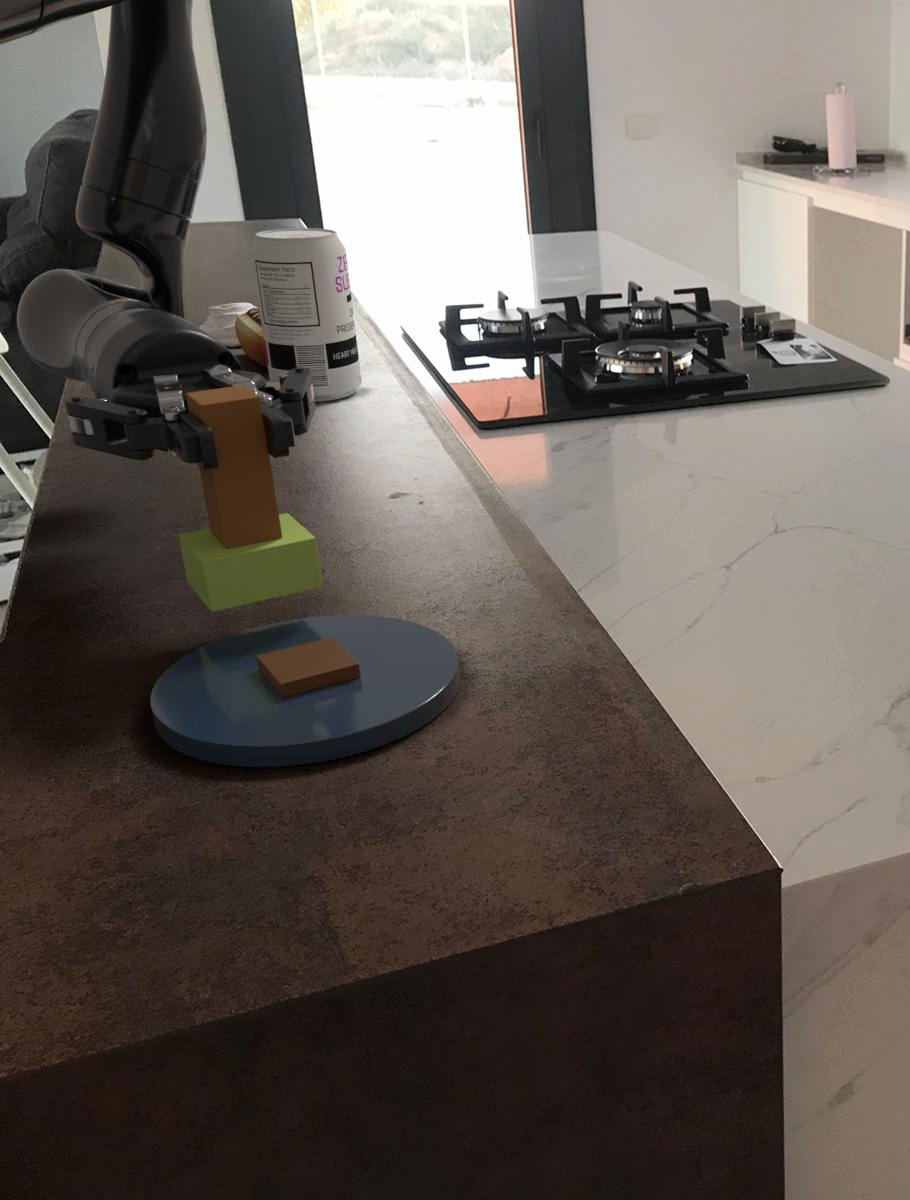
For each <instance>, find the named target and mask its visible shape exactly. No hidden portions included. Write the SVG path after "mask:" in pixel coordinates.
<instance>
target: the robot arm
mask: <svg viewBox="0 0 910 1200" xmlns="http://www.w3.org/2000/svg"><path fill="white" fill-rule="evenodd" d="M193 5H194V0H0V45H3V44H7V43H9V42H13V41H17V40H19V39H21V38H24V37H27V36H30V35H33V34H35V33H39V32H41V31H44V30H46V29H48V28H50V27H53V26H56V25H59V24H62V23H65V22H66V21H67V22H68V21H70V20H72V19H77V18H78V17H81V16H82V17H83V16H85V15H88V14H91V13H95V12H97V11H101V10H103V9H106V8H109V7H110V19H109V20H110V22H109V35H108V48H107V58H106V66H105V67H106V68H105V76H104V82H103V89H102V94H101V98H100V99H101V100H100V104H99V109H98V114H97V118H96V122H95V127H94V131H93V134H92V137H91V138H92V139H91V143H90V146H89V150H88V155H87V159H86V164H85V168H84V172H83V176H82V180H81V183H82V184H81V185H80V188H79V192H78V196H77V200H76V206H75V220H76V223H77V225H78V227H79V229H81V230H82V231H83V232H84V233H85V234H87V235H89V236H90V237H92V238H93V239H96V240H97V241H100V242H101V243H103V244H104V245H107V246H109V247H112V248H113V249H115V250H117V251H119V252H121V253H123V254H124V255H126V256H127V257H129V258H130V259H131V260H132V261H134V263H135V265H136V267H137V269H138V271H139V276H140V288H137V287H134V286H131V285H128V284H123V283H120V282H117V281H115V280H114V281H113V280H110V279H106V278H104V277H103V278H102V277H99V276H96V275H93V274H89V273H85V272H82V271H79V270H74V269H68V268H56V269H51V270H47V271H45V272H42V273H41V274H39V275H38V276H36V277H35V278H34V279H32V281H31V282H30V283H29V284H28V285H27V286H26V288H25V289H24V292H23V293H22V294H21V297H20V299H19V303H18V306H17V310H16V311H17V313H16V326H17V332H18V336H19V340H20V342H21V345H22V347H23V349H24V350H25V352H26V354H27V356H29V358H30V359H31V360H32V361H33V362H34V363H35V364H36V365H37V366H39V367H40V368H42V369H43V370H45V371H47V372H49V373H51V374H54V375H56V376H59V377H61V378H63V379H66V380H69V381H71V382H74V383H77V384H79V385H83V386H85V387H87V388H90V389H91V390H92V392H93V394H94V397H95V398H91V397H87V396H85V397H84V396H81V395H76V396H75V395H74V396H72V397H71V398H67V399H65V400H64V405H65V409H66V414H67V418H68V423H69V427H70V431H71V436H72V437H71V438H72V441H73V445H74V446H77V447H81V448H86V449H89V450H94V451H97V452H102V453H105V454H109V455H113V456H114V455H115V456H118V457H122V458H127V459H131V460H137V461H147V460H149V459H152V458H154V457H156V453H155V450H158V451H161V452H164V453H165V452H166V453H168V455H169V456H170V457H172V458H178V459H180V460H181V461H182V462H183V463H187V464H191V465H192V464H195V465H196V466H198V468H199V467H200V468H201V469H202V470H207V469H213V468H218V460H217V454H216V449H215V443H214V437H213V433H212V430H211V428H210V427H209V426H208V425H207V424H206V423H205V422H202V421H201V420H200V419H199V418H198V417H196V416H195V415H194V414H193V413H189V410H188V404H187V399H186V393H190V392H197V391H204V390H212V389H219V388H226V387H234V386H241V385H244V386H245V387H246V388H248V389H249V390H251V391H252V392H254V393H255V394H256V395H258V396H259V397H260V400H261V406H262V415H263V422H264V428H265V434H266V440H267V447H268V453H269V456H271V457H272V458H274V459H277V458H284V457H289V456H290V448H295V447H296V444H297V443H296V442H297V441H296V437H297V436H301V435H303V434H306V433H308V432H309V429H310V427H311V424H312V421H313V418H314V416H315V412H316V410H317V408H316V407H317V406H316V402H315V400H314V392H313V385H312V379H311V372H310V369H307V368H303V367H297V368H295V369H292V370H289V372H288V374H282V375H280V376H279V380H280V382H270V381H269V382H266V379H265V378H264V377H263V375H261V374H260V373H258V372H252V371H246V370H245V369H244V368H243V366H242V364H241V363H240V361H239V360H238V359H237V357H236V356H235V355H234V354H233V352H231V350H230V349H229V348H228V346H224V345H223V344H222V343H221V342H219V341H218V340H217V339H215V338H213V337H212V336H210V335H209V334H207V333H206V332H204V331H203V330H201V329H199V327H198V326H196V325H195V324H193V323H192V322H190V321H188V318H187V307H186V287H185V282H186V281H185V280H186V256H187V255H186V254H187V244H188V237H189V232H190V227H191V223H192V221H191V220H192V219H193V215H194V211H195V207H196V204H197V200H198V196H199V192H200V187H201V183H202V180H203V176H204V171H205V167H206V163H207V162H206V161H207V155H208V144H209V143H208V142H209V141H208V138H209V136H208V135H209V133H208V131H209V130H208V118H207V112H206V111H207V110H206V105H205V100H204V95H203V90H202V85H201V80H200V75H199V71H198V65H197V59H196V54H195V48H194V36H193V7H194V6H193Z"/></svg>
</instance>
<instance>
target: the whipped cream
mask: <svg viewBox="0 0 910 1200" xmlns="http://www.w3.org/2000/svg"><path fill="white" fill-rule="evenodd" d="M253 308H258V307H257V306H254V304H252V303H250V302H233V303H224V304H220V305H216V306H214V305H213V306H209V307H208V308H207V310H208V312H209V316H207V317H206V320H205V321H204V322H203V324H201V325H200V326H199V327H198V328H199V329H201V330H203V331H204V332H206V333H207V334H209V335H210V336H212V337H213V338H215V339H217V340H218V341H219V342H221V343H222V344H223V345H224V346H226V347H227V348H228V347H229V348H235V347H241V345H240V343H239V340H238V338H237V335H236V329H235V322H236V319H237V316H239V315H241V314H243V313H246V312H247V311H248V310H250V309H253Z"/></svg>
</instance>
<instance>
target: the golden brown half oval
mask: <svg viewBox="0 0 910 1200" xmlns="http://www.w3.org/2000/svg"><path fill="white" fill-rule="evenodd" d="M235 329H236V335H237V338H238V340H239V343H240V345H241V346H240V347H241V349H242V350H243V353H244V354H245V355H246V356H247V357H248V358H249V359H251V360H252V361H253V362H255V363H256V364H258V365H260V366H262V367H263V368H265V369H267V370H268V364H267V358H266V351H265V344H264V338H263V331H262V324H261V318H260V311H259V307H257V308H253V309H250V310H248V311H247V312H246V313H243V314H241V315H239V316H237V319H236V322H235Z"/></svg>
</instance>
